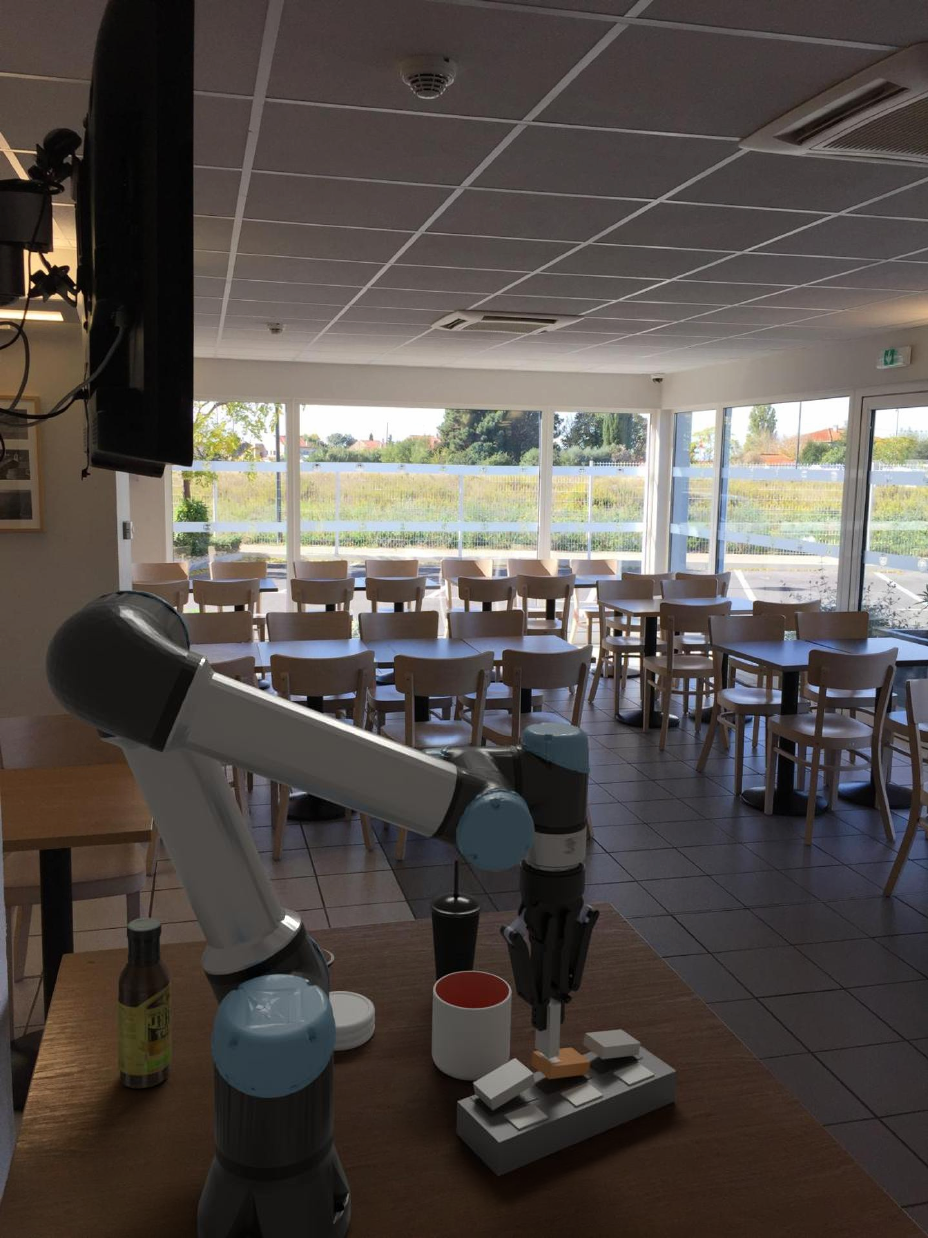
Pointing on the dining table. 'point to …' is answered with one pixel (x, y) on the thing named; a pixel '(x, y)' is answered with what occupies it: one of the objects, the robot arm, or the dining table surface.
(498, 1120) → the switch panel
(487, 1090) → the block
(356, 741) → the robot arm
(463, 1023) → the cup
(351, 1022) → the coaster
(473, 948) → the drinking cup
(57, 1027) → the dining table surface
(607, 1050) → the rocker
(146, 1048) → the sauce bottle
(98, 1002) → the dining table surface
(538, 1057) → the block
